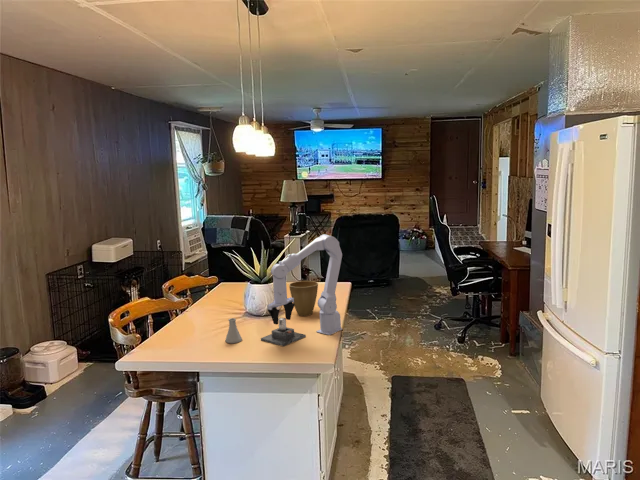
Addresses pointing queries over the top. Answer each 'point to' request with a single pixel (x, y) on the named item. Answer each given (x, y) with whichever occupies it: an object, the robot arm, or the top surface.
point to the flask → (233, 332)
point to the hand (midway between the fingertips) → (282, 321)
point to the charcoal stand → (283, 337)
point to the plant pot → (304, 296)
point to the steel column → (282, 324)
